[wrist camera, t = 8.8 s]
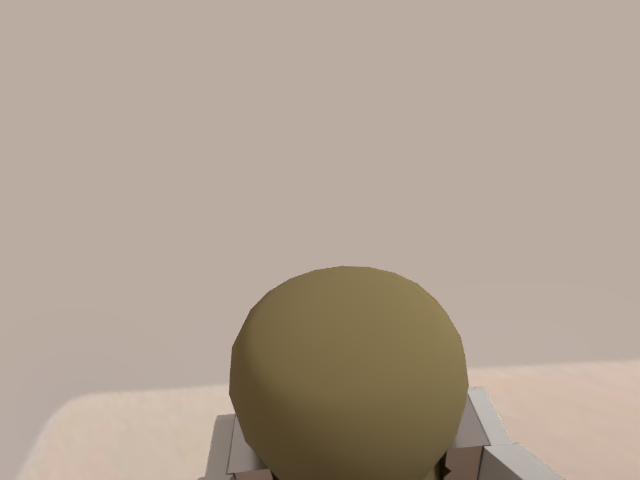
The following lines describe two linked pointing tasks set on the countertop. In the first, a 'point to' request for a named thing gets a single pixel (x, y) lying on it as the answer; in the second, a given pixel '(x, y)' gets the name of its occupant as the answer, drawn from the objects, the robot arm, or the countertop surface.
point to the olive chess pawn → (349, 378)
